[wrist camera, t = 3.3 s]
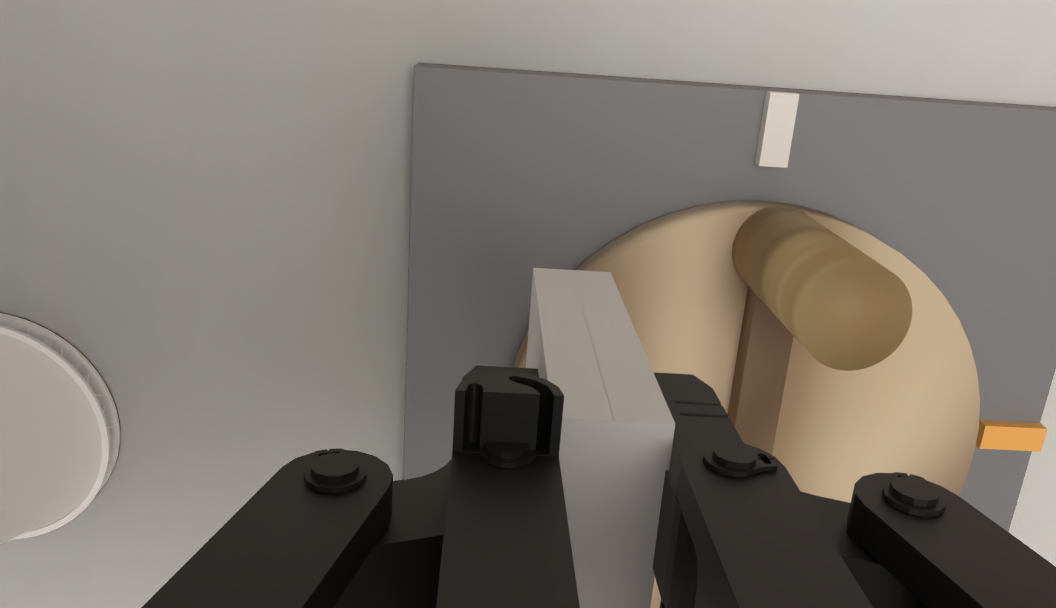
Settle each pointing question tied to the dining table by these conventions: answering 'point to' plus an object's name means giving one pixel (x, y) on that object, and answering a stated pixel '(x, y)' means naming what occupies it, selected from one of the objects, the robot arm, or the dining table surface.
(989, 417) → the dial base
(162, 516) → the dining table surface
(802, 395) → the dial
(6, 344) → the vase
